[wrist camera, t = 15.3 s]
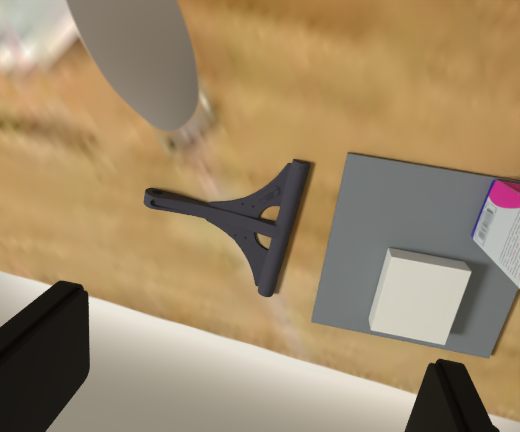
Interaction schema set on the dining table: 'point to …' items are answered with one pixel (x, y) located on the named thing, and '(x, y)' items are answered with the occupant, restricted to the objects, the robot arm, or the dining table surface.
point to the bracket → (249, 219)
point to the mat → (410, 246)
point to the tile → (418, 295)
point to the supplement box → (501, 227)
